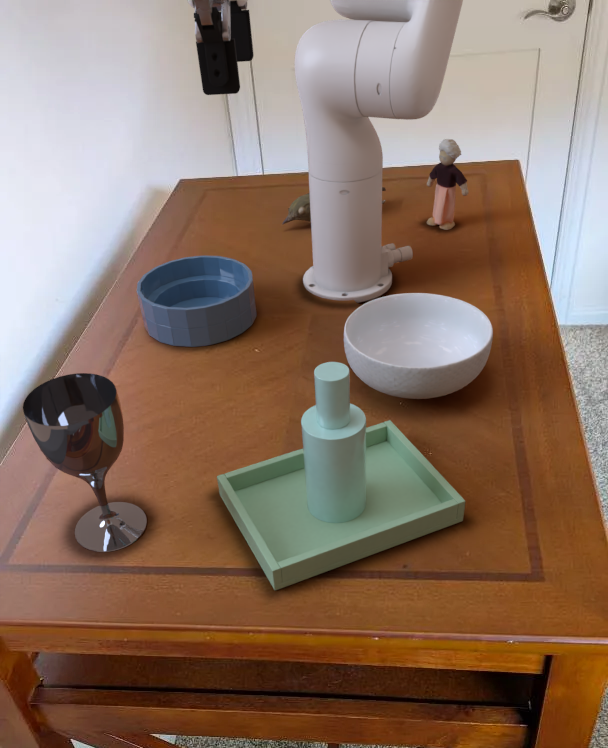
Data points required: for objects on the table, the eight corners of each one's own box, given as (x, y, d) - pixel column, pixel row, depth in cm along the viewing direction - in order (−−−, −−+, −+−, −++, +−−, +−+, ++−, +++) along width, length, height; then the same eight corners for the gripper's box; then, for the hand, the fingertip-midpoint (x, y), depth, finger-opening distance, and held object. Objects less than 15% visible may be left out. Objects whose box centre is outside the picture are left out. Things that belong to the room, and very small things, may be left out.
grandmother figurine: (416, 225, 122) (420, 139, 114) (427, 216, 125) (432, 131, 116) (460, 234, 119) (467, 147, 110) (471, 225, 121) (479, 139, 112)
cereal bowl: (470, 433, 83) (477, 376, 78) (325, 409, 88) (322, 354, 83) (498, 352, 94) (505, 299, 89) (368, 335, 99) (368, 283, 94)
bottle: (349, 477, 78) (347, 346, 68) (376, 511, 74) (378, 378, 64) (297, 495, 77) (286, 364, 66) (322, 530, 73) (314, 397, 62)
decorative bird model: (276, 227, 125) (273, 195, 122) (380, 198, 131) (381, 167, 128) (290, 238, 122) (288, 205, 118) (397, 208, 128) (398, 176, 124)
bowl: (234, 287, 111) (228, 246, 107) (273, 333, 101) (269, 290, 97) (133, 313, 107) (124, 272, 103) (164, 363, 97) (155, 320, 93)
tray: (389, 439, 83) (390, 419, 81) (463, 521, 74) (465, 500, 72) (219, 495, 78) (216, 475, 76) (274, 591, 69) (272, 571, 67)
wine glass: (75, 503, 79) (31, 377, 68) (153, 496, 79) (120, 369, 68) (65, 559, 73) (14, 430, 62) (148, 550, 73) (112, 421, 63)
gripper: (232, -176, 52) (260, 105, 64) (261, -191, 64) (279, 48, 76) (123, -166, 52) (171, 109, 65) (172, -183, 64) (205, 52, 77)
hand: (230, 76), depth 70 cm, fingers open, 9 cm apart
